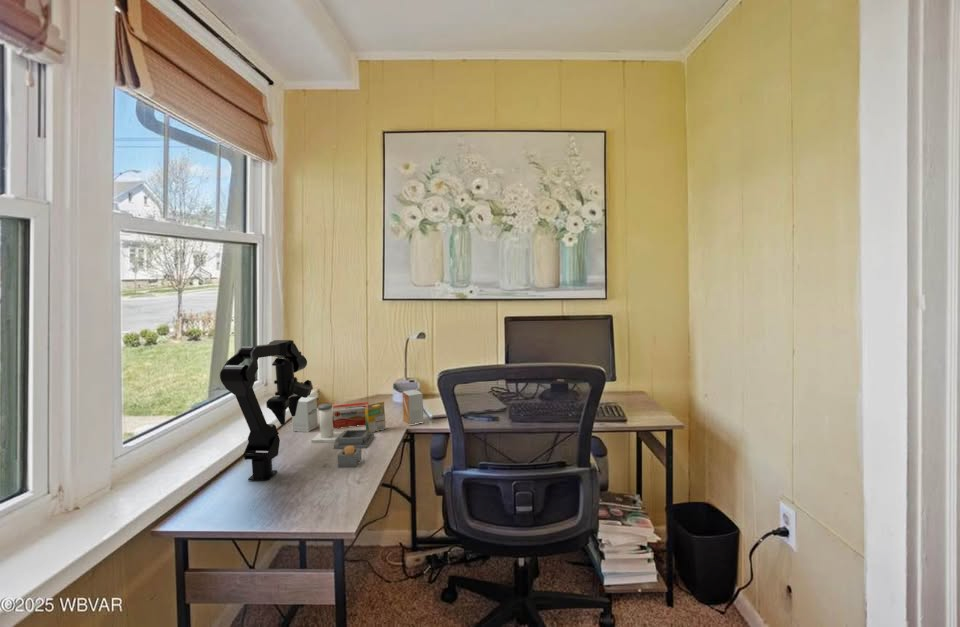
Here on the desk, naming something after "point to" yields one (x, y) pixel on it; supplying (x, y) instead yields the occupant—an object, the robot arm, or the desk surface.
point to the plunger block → (349, 458)
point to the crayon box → (375, 417)
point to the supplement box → (305, 415)
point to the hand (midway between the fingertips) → (288, 420)
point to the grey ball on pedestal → (325, 420)
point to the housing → (354, 439)
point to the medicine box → (349, 415)
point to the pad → (325, 440)
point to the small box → (412, 406)
